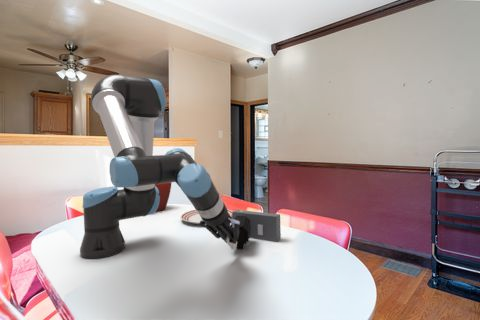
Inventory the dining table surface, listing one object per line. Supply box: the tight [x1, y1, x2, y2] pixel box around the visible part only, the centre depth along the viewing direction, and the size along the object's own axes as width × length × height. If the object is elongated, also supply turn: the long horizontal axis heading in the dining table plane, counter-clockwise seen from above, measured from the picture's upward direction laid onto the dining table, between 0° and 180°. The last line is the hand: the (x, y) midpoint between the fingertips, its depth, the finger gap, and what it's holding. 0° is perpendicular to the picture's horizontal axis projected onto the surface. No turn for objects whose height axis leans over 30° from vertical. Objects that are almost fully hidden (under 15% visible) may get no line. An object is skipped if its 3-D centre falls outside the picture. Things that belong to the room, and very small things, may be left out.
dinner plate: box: [180, 208, 234, 225], centre depth 143 cm, size 28×27×3 cm
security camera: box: [230, 216, 251, 250], centre depth 104 cm, size 7×18×10 cm, turn 175°
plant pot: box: [155, 182, 172, 212], centre depth 168 cm, size 19×19×17 cm
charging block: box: [232, 209, 282, 243], centre depth 114 cm, size 4×20×10 cm, turn 60°
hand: (234, 245), depth 94 cm, fingers closed
